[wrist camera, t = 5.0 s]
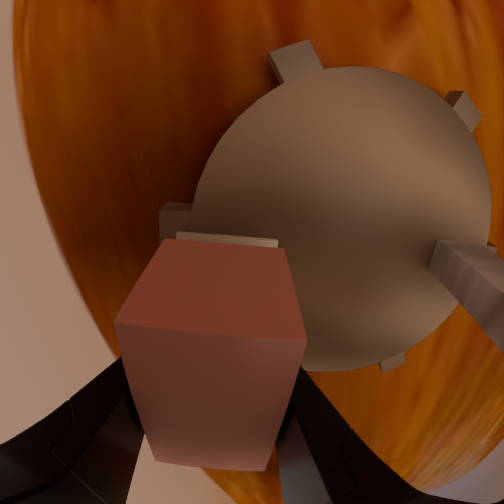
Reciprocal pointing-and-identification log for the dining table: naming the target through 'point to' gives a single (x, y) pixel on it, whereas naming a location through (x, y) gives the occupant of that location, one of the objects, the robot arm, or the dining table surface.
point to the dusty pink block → (212, 352)
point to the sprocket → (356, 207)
